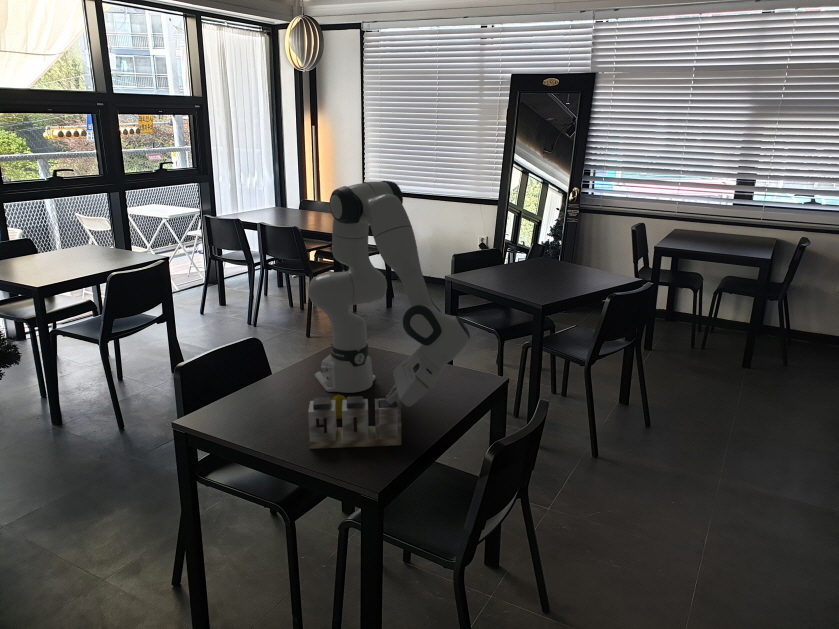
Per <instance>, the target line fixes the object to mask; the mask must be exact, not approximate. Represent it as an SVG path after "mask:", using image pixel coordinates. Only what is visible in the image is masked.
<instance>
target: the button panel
mask: <svg viewBox="0 0 839 629" xmlns="http://www.w3.org/2000/svg"><path fill="white" fill-rule="evenodd" d="M346 399H347V400H343V402H342V418H341V420H342V422H341V423H342V427H341V426H340V427H339V426H338V425H337V418H336V400H332V399H331V397H330V396H328V397H327V396H326V397H314V398H313V400H310V401H309V406H308V410H307V415H308V433H309V449H311V450H312V449H337V448H360V447H362V448H363V447H387V446H388V447H389V446H390V445H391V446H403V445H402V444H403V443H402V406H401V401H400V400H399V399H398V400H396V407H391V408H380V400H387V399H386V397H385V398H374V414H375V415H374V417H375V418H374V422H375V425H370V426H369V400H368V399H369V398H364V396H361V395H359V396H347V397H346ZM337 426H338V427H337ZM391 446H390V447H391Z"/></svg>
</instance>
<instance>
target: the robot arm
mask: <svg viewBox="0 0 839 629" xmlns="http://www.w3.org/2000/svg"><path fill="white" fill-rule="evenodd" d="M403 203H404V196H403V192H402V190H401V188H400V186H399V185H398V184H397V183H396V182H393V181H389V180H380V181H364V182H362V183H356V184H351V185H349V186H347V185H344V186H341V187H337V188H336V189H334V190H333V191H332V193H331V195H330V198H329V210H330V214H331V216H332V217H333V220H332V232H331V233H332V237H331V239H332V240H331V241H332V242H331V253H332V256H333V259H335V260H336V261H337V262H339V263H341V264H342V265H345V266H346V267H347V266H348V270H346V271H337V272H327V273H323V274H320V275H317V276H314V277H313V278H312V279H311V280H310V282H309V284H308V287H307V294H308V297H309V300H310V301H311V303H312V304H313V305H314V306H315V307H317V308H318V309H320V310H321V311H322V312H323V313H324V314H326V317H327V318H328V320H329V321H330V325H331V326H330V327H331V332H332V343H331V344H329V345H330V348H331V350H330V354H329V355H327V356H326V357H325V358H324V359H322V361H321V365H320V368H319V369H320V370H318V371H317V372H316V373H314V378H315V379H316V380H317V382H318V383H319V384H320V385H321V386H322V388H323V389H324V390H325V392H329V393H331V392H333V393H334V392H337V393H347V394H348V393H350V394H352V393H359V392H364V391H367V390H369V389H370V388H372V387H373V384H374V381H375V380H376V378H377V377H376V375H375V374H373V372H374V371H373V365H372V364H373V363H372V357H371V356H369V343H368V340H367V338H368V336H367V323H366V321H365V319H364V318H363V317H362V316H360V315H358V314H355V313H353V312H350V310H349V307H350V306H353V305H360V304H361V305H362V304H370V303H374V302H376V301H379V300H382V299H383V298H384V297H385V295H386V293H387V289H388V283H387V279H386V276H385V275H384V273H382V272H381V271H380V270H379V269H377V267H375V266H374V265H373V263H372V262H371V259H370V256H369V232H370V231H369V228H370V230H371V233H372V234H371V235H372V236H373V239H374V240H373V241H374V243H375V246H376V249H377V251H378V253H379V254H380V256H381V258H382V260H383V262H384V263H385V264H386V265H387V266H388V267H389V268H390V269H392V270H393V272H395V274H396V275H397V276H398V278H399V279H400V281H401V283H402V285H403V288H404V291H405V294H406V296H407V299H408V301H409V305H410V307H409V308H408V309H407V310H406V311H405V313H404V315H403V316H402V327H403V329H404V331H405V333H406V334H407V335H408V336H409V337H410V338H412V339H413V340H415V341H416V342H417V343H419V344H420V346H418V348H417V349H416V350H415V351H414V352H413V353H412V354H411V355H410V356H409V357H406V358H405V360H403V361H402V362H401V363H400V364H399V365H398V366H397V367H396V368H395V369H394V370H393V371H392V375H393V381H394V385H393V386H392V388H391V389H390V391H389V393H387V394H386V396H385V398H386V399H387V402H388V403H389V404H390V405H391V404H393V403H394V402H395V401H396V400H398V399H399V400H400V403H402V404H403V405H404V406H406V407H407V408H409V407H412V406H413V405H415V404H416V403H417V402H418V401H420V400H421V399H422V398H423V396H425V394H427V392H428V391H429V390H433V388H435V387H436V386H437V381H438V378H439V374H440V373H441V372H442V371H443V370H444V368H445V366H446V365H447V364H448V363H450V362H451V361H453V360H454V359H455V358H456V357H457V356H458V355H459V354H460V353H461V352H462V351H463V349H465V347H466V346H467V344H468V343H469V342H470V337H471V335H470V334H471V333H470V330H468V328H467V326H466V324H465V323H464V322H463V321H462V319H461V318H460V317H459V316H456V315H450V314H447V313H443V312H442V310H440V308H438V307H437V305H436V304H435V303H434V302H433V300H432V297H431V294H430V292H429V289H428V286H427V283H426V281H425V278H424V274H423V272H422V267H421V263H420V262H421V261H420V258H419V251H418V246H417V241H416V240H417V239H416V236H415V233H414V229H413V226H412V223H411V221H410V217H409V216H408V214H407V210H406V208H405V207H404V205H403ZM369 225H370V226H369Z"/></svg>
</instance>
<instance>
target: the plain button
mask: <svg viewBox="0 0 839 629" xmlns="http://www.w3.org/2000/svg"><path fill="white" fill-rule="evenodd" d="M391 407H396V401H395V402H394V403H393V404H391V405H390V404H389V403H388V402H387V400H380V408H391Z"/></svg>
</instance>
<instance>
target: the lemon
mask: <svg viewBox="0 0 839 629" xmlns="http://www.w3.org/2000/svg"><path fill="white" fill-rule="evenodd" d="M331 400H336V419H338V420H342V402H343V400H347V397H345V396H344V395H341V394H339V393H338V394H337V395H334V396H333V397H332V398H331Z"/></svg>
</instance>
